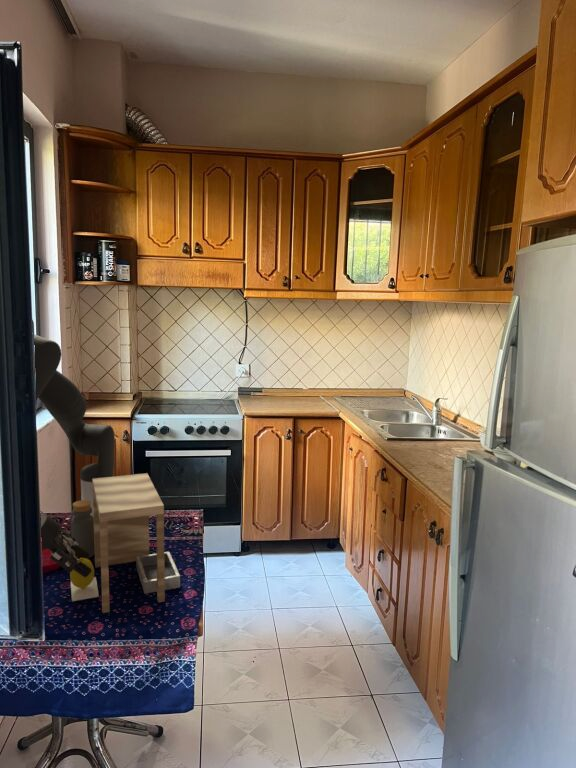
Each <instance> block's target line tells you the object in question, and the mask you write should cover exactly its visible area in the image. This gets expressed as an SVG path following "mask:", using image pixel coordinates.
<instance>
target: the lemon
mask: <svg viewBox="0 0 576 768" xmlns="http://www.w3.org/2000/svg"><path fill="white" fill-rule="evenodd" d="M79 561H81V562H82V563H84V564H85V565H87V566H88V567H89V568H91V573H90V574H89V575H88V576H87V577H83V576H82V575H81V574H79V573H78V572H76V571H75V570H72V571H71V572H69V578H70V583H71V582H72V584H73V585H74V586H76V587H78V588H81V589H84V588H85V587H86V586H88V585H89V584H90V583H91V582H92V580H93V578H94V577H95V568H94V567H95V566H94V565H93V563H92V561H91V560H90V559H89V558H87V559H86V558H80V559H79Z"/></svg>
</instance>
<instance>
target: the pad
mask: <svg viewBox="0 0 576 768" xmlns="http://www.w3.org/2000/svg"><path fill="white" fill-rule="evenodd" d="M70 593H71V602H76V601H83V600H87V599H93V598H98V597H100V596H99V589H98V581H97V577H96V576H94V578H93V580H92V582H91V583H90V584H89V585H88V586H86V587H85V588H84V589H81V588H78V587H76V586H74V585H73V584H72V582H71V581H70Z"/></svg>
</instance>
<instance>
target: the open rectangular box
mask: <svg viewBox="0 0 576 768" xmlns="http://www.w3.org/2000/svg"><path fill="white" fill-rule="evenodd" d="M175 563H176V562H175V561H174V559H173V557H172V554H171V553H170V551H164V576H165V591H168V590H172V589H177V588H181V575H180V573H179V570H178V568H177V565H176V564H175ZM135 564H136V565H135V566H136V571H137V574H138V576H139V577H138V578H139V580H140V584H141V586H142V590H143V593H144V595H145V594H146V595H147V594H150V593H151V594H152V593H157V552H156V553H152V554H151V553H149V555H143V556H137V557H136V561H135Z"/></svg>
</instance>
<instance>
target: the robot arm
mask: <svg viewBox="0 0 576 768" xmlns="http://www.w3.org/2000/svg"><path fill="white" fill-rule="evenodd" d="M33 334H34V345H35V368H36V401H37V400H38V399H39V401H41V404H42V405H43V406H44V407H45V409H46V411H48V412H49V414H50V415H51V416H52V418H53V419H54V420H55V421H56V422H57V424H59V425H58V426H60V428H61V429H62V431H63V432H64V433H65V436H66V437H67V439H68V441H69V442H70V444H71V446H72V448H73V449H74V452H75V451H76V453H77V454H79V455H83V456H89V457H90V456H93V457H94V456H95V457H97V462H94V463H91V464H87V465H85V466H84V467H82V468H81V469H80V494H81V495H80V498H81V500H87V501H90V502H91V506H90V507H91V508H92V513H91V514H90V515H92V516H93V518H94V514H93V483H92V479H94V478H104V477H114V467H115V443H116V441H115V439H116V438H115V437H116V436H115V431H114V428H113V427H112V426H111V425H108V424H94V423H86V422H84V421H83V419H84V417H85V415H86V412H87V401H86V399H85V397H84V395H83V394H82V392H81V391H80V390H79V387H77V386H76V384H75V383H73V382H72V381H71V380H70V379H69V378H68V377H66V376H65V375H64V374H62V373H61V371H58V370H57V369H58V368H59V365H60V363H61V359H62V349H61V346H60V345H59V343H57V342H56V341H55V340H52V339H48V338H46V337H44V336H40V335H38V334H35V333H33ZM81 500H80V501H81ZM40 512H41V537H42V552H44V551H45V550H48V551H49V552H50V554H51V555H50V557H49V558H50V560H51V561H53V562H55V563H56V564H57V565H59V566H61V568H63V569H64V570H65V571H67V572H68V573H70V572H71V571H72V570H75V571H76V572H78V573H79V574H81V575H82V576H83V577H87V576H88V575H89V574H90V573H91V568H89V567H88V566H87V565H85V564H84V563H82V562H81V561H79V559H80V558H86V559H89V558H88V557H89V553H88V552H87V551H85V550H84V549H83V548H81V547H80V546H78V543H77V542H75V541H76V539H75V538H73V537H72V534H69V533H68V532H66V531H65V530H64V529H61V528H62V527H61V524H60V523H58V522H57V521H56V520H54V518H51V517H50V515H47V514H46V513H45V512H43V511H42V510H40ZM77 557H78V558H79V559H78V558H77Z"/></svg>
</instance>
